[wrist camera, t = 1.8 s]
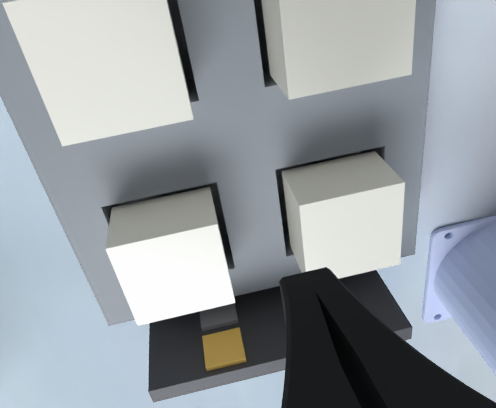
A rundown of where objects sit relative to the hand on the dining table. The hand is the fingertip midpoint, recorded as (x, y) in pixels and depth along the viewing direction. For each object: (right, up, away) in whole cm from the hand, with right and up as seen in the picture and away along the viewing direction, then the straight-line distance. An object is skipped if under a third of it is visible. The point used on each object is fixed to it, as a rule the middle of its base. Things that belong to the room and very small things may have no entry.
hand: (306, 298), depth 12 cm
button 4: (+2, +3, +7) cm, 8 cm away
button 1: (-6, +8, +2) cm, 10 cm away
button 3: (+1, +9, +3) cm, 10 cm away
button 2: (-5, +1, +7) cm, 8 cm away
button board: (-2, +6, +8) cm, 10 cm away
